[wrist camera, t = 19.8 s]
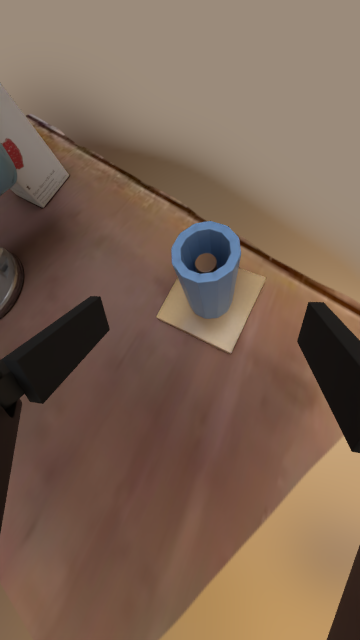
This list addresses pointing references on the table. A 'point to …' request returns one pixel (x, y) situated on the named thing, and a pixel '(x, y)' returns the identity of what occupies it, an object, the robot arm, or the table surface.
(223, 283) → the blue hollow tube
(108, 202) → the table surface
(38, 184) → the white product box
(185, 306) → the stand
